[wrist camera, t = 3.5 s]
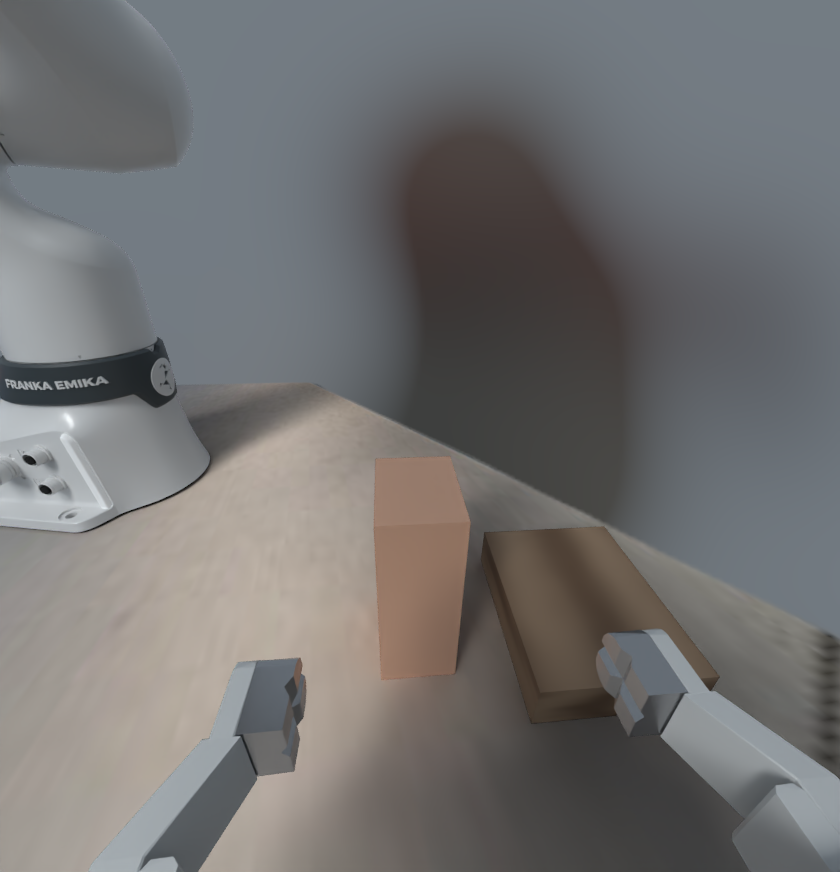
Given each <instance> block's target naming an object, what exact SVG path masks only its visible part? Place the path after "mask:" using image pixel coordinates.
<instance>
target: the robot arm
mask: <svg viewBox="0 0 840 872" xmlns="http://www.w3.org/2000/svg"><path fill="white" fill-rule="evenodd" d="M192 133H193V110H192V104H191V99H190V95H189V91H188V87H187V85H186V82H185V79H184V76H183V74H182V72H181V70H180V67H179V66H178V63H177V61H176V60H175V58H174V56H173V54H172V52H171V51H170V49H169V48H168V46H167V45H166V43H165V42H164V40H163V39H162V38H161V36H160V35H159V34H158V32H157V31H156V30H155V29H154V27H153V26H152V25H151V24H150V23H149V22H148V21H147V19H146V18H145V17H144V16H142V15H141V14H140V13H139V12H138V11H136V10H135V9H134V8H133V7H132V6H131V5H130V4H129V3H128V2H126V1H125V0H0V350H1V352H2V354H3V355H2V357H1V358H0V398H1V400H0V526H9V527H20V528H30V529H41V530H52V531H62V532H82V531H86V530H89V529H91V528H94V527H96V526H98V525H100V524H102V523H104V522H106V521H108V520H110V519H112V518H114V517H116V516H118V515H119V514H122V513H124V512H127V511H130V510H133V509H136V508H139V507H142V506H145V505H148V504H150V503H153V502H156V501H158V500H161V499H163V498H165V497H168V496H170V495H172V494H174V493H176V492H178V491H179V490H181V489H183V488H184V487H186V486H188V485H189V484H191V483H192V482H193V481H195V480H196V479H197V478H198V477H199V476H200V475H201V474H202V473H203V472H204V471H205V470H206V468H207V467H208V465H209V462H210V455H209V453H208V451H207V450H206V449H205V447H204V446H203V445H202V443H201V442H200V440H199V439H198V437H197V435H196V434H195V432H194V430H193V428H192V427H191V425H190V423H189V421H188V419H187V417H186V415H185V412H184V410H183V408H182V406H181V404H180V401H179V399H178V396H177V394H176V393H177V388H176V383H175V379H174V374H173V371H172V368H171V364H170V361H169V358H168V355H167V352H166V349H165V346H164V343H163V341H162V340H161V339H160V338H158V337H157V336H156V333H155V330H154V326H153V323H152V320H151V316H150V313H149V310H148V307H147V304H146V300H145V297H144V293H143V290H142V287H141V284H140V280H139V277H138V274H137V270H136V267H135V265H134V264H133V262H132V260H131V259H130V258H129V256H128V255H127V254H126V253H125V251H124V250H123V249H122V248H120V247H119V246H118V245H117V244H115V243H114V242H113V241H112V240H110V239H108V238H107V237H105V236H103V235H101V234H99V233H97V232H95V231H93V230H91V229H89V228H87V227H84V226H82V225H80V224H78V223H75V222H73V221H70V220H68V219H65V218H63V217H60V216H58V215H55V214H52V213H50V212H47V211H45V210H43V209H40V208H38V207H36V206H35V205H33V204H31V203H30V202H28V201H27V200H26V199H24V197H23V196H22V195H21V194H20V193H19V192H18V190H17V189H16V188H15V186H14V185H13V183H12V181H11V179H10V177H9V175H8V173H7V168H8V167H10V166H18V165H24V166H36V167H48V168H60V169H73V170H84V171H96V172H108V173H130V172H140V171H150V170H157V169H164V168H171V167H176V166H177V165H178V164H179V163H180V162H181V161H182V159H183V157H184V156H185V155H186V153H187V150H188V148H189V146H190V142H191V138H192ZM602 643H603V645H604V647H603V648H602V649H601V650H599V651H598V653H597V657H596V667H597V672H598V676H599V679H600V681H601V683H602V685H603V687H604V689H605V690H606V691H607V692H608V693H609V694H610V695H612V696H613V697H614V698H615V702H614V709H615V711H616V713H617V715H618V717H619V719H620V721H621V723H622V725H623V727H624V729H625V731H626V733H627V735H628V737H635V736H649V735H661V738H662V739H663V740H664V741H665V742H666V743H667V744H668V745H669V746H670V747H671V748H672V749H673V750H675V751H676V752H677V753H678V754H679V755H680V756H681V757H682V758H683V759H684V760H685V761H686V762H687V763H688V764H689V765H690V766H691V767H692V768H693V769H694V770H695V771H696V772H697V773H698V774H699V775H700V776H701V777H702V778H703V779H704V780H705V781H706V782H707V783H708V784H709V785H710V786H711V787H712V788H713V789H714V790H715V791H716V792H717V793H718V794H720V795H721V796H722V797H723V798H724V799H725V800H726V801H727V802H728V803H729V804H730V805H731V806H732V807H733V808H734V809H735V810H736V811H737V812H738V813H739V814H740V815H741V816H742V817H743V818H744V820H743V821H742V822H741V824H740V825H739V826H738V827H737V828H736V829H735V830H734V831H733V834H732V841H733V843H734V845H735V846H736V848H737V850H738V851H739V853H740V855H741V857H742V858H743V860H744V862H745V864H746V865H747V867H748V869H749V871H750V872H840V780H839V779H838V777H837V776H835V775H834V774H833V773H831V772H830V771H828V770H827V769H825V768H824V767H823V766H821V765H820V764H818V763H817V762H815V761H814V760H813V759H811V758H810V757H808V756H807V755H806V754H804V753H803V752H801V751H800V750H798V749H797V748H796V747H794V746H793V745H791V744H790V743H788V742H787V741H786V740H784V739H783V738H781V737H780V736H778V735H777V734H776V733H774V732H773V731H771V730H770V729H769V728H767V727H766V726H764V725H763V724H761V723H760V722H759V721H757V720H756V719H754V718H753V717H751V716H750V715H749V714H747V713H746V712H744V711H743V710H742V709H740V708H739V707H737V706H736V705H734V704H733V703H732V702H730V701H729V700H727V699H726V698H724V697H723V696H722V695H720V694H719V693H717V692H716V691H709V690H708V688H707V687H706V686H705V684H704V683H703V682H702V680H701V679H700V678H699V676H698V675H697V673H696V672H695V671H694V669H693V668H692V667H691V665H690V664H689V663H688V661H687V660H686V659H685V657H684V656H683V655H682V653H681V652H680V651H679V649H678V648H677V646H676V645H675V644H674V642H673V641H672V640H671V638H670V637H669V636H668V634H667V633H666V632H664V631H663V630H662V629H647V630H632V631H622V632H612V633H607V634H605V635H604V636H603V639H602ZM301 671H302V662H301V658H288V659H275V660H262V661H261V660H257V661H246V662H238V663H237V665H236V666H235V668H234V670H233V672H232V675H231V678H230V680H229V683H228V686H227V689H226V692H225V694H224V697H223V700H222V703H221V706H220V709H219V711H218V714H217V717H216V720H215V723H214V726H213V728H212V731H211V734H210V737H209V739H202V740H201V741H200V743H199V744H198V745H197V746H196V747H195V748H194V749H193V750H192V752H191V753H190V754H189V755H188V756H187V757H186V758H185V759H184V761H183V762H182V763H181V764H180V765H179V766H178V767H177V768H176V770H175V771H174V772H173V773H172V774H171V775H170V776H169V777H168V779H167V780H166V781H165V782H164V783H163V784H162V785H161V786H160V788H159V789H158V790H157V791H156V792H155V793H154V794H153V795H152V796H151V798H150V799H149V800H148V801H147V802H146V803H145V804H144V805H143V807H142V808H141V809H140V810H139V811H138V812H137V813H136V814H135V816H134V817H133V818H132V819H131V820H130V821H129V822H128V823H127V825H126V826H125V827H124V828H123V829H122V830H121V831H120V832H119V834H118V835H117V836H116V837H115V838H114V839H113V840H112V841H111V843H110V844H109V845H108V846H107V847H106V848H105V849H104V850H103V852H102V853H101V854H100V855H99V856H98V857H97V858H96V859H95V860H94V862H93V863H92V864H91V867H90V869H89V871H88V872H198V871H199V869H200V868H201V866H202V865H203V863H204V862H205V860H206V858H207V857H208V855H209V854H210V852H211V851H212V849H213V848H214V846H215V844H216V843H217V841H218V840H219V838H220V837H221V835H222V834H223V832H224V830H225V829H226V827H227V826H228V824H229V823H230V821H231V819H232V818H233V816H234V815H235V813H236V812H237V810H238V809H239V807H240V805H241V804H242V802H243V801H244V799H245V798H246V796H247V795H248V793H249V791H250V790H251V788H252V787H253V785H254V784H255V782H256V781H257V776H264V775H272V774H279V773H287V772H294V770H295V764H296V758H297V753H298V747H299V741H300V736H299V732H298V728H297V725H298V724H299V723H300V721H301V720H302V719H303V717H304V711H305V704H306V680H305V676H304V675H302V674H301Z"/></svg>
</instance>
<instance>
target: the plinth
mask: <svg viewBox="0 0 840 872" xmlns="http://www.w3.org/2000/svg"><path fill="white" fill-rule="evenodd" d="M481 562H482V565H483V568H484V571H485V575H486V578H487V581H488V584H489V588H490V591H491V594H492V597H493V601H494V604H495V607H496V611H497V614H498V617H499V620H500V624H501V627H502V630H503V633H504V637H505V640H506V643H507V646H508V650H509V653H510V656H511V659H512V663H513V666H514V669H515V672H516V676H517V679H518V682H519V685H520V689H521V692H522V695H523V698H524V702H525V705H526V708H527V711H528V715H529V718H530V721H531V724H532V723H543V722H553V721H564V720H574V719H585V718H595V717H606V716H616V715H617V713H616V711H615V709H614V702H615V698H614V697H613V696H612V695H610V694H609V693H608V692H607V691H606V690H605V689H604V687H603V685H602V683H601V681H600V679H599V676H598V672H597V667H596V657H597V653H598V651H599V650H601V649H602V648H603V647H604V645H603V643H602V639H603V636H604V635H605V634H607V633H612V632H622V631H632V630H647V629H662V630H663V631H664V632H666V633H667V634H668V636H669V637H670V638H671V640H672V641H673V642H674V644H675V645H676V646H677V648H678V649H679V651H680V652H681V653H682V655H683V656H684V657H685V659H686V660H687V661H688V663H689V664H690V665H691V667H692V668H693V669H694V671H695V672H696V673H697V675H698V676H699V678H700V679H701V680H702V682H703V683H704V684H705V686H706V687H707V688H708V690H709V691H711V690H712V688H713V686H714V685H715V683H716V682H717V680H718V679H719V675H718V674H717V673H716V671H715V670H714V669H713V667H712V666H711V665H710V664H709V662H708V661H707V660H706V658H705V657H704V656H703V654H702V653H701V652H700V651H699V649H698V648H697V647H696V645H695V644H694V643H693V641H692V640H691V639H690V638H689V636H688V635H687V634H686V632H685V631H684V630H683V628H682V627H681V626H680V625H679V623H678V622H677V621H676V619H675V618H674V617H673V615H672V614H671V613H670V612H669V610H668V609H667V608H666V606H665V605H664V604H663V602H662V601H661V600H660V599H659V597H658V596H657V595H656V593H655V592H654V591H653V589H652V588H651V587H650V586H649V584H648V583H647V582H646V580H645V579H644V578H643V576H642V575H641V574H640V573H639V571H638V570H637V569H636V567H635V566H634V565H633V563H632V562H631V561H630V560H629V558H628V557H627V556H626V554H625V553H624V552H623V550H622V549H621V548H620V547H619V545H618V544H617V543H616V541H615V540H614V539H613V537H612V536H611V535H610V534H609V532H608V531H607V530H606V528H605V527H585V528H564V529H544V530H523V531H503V532H484V540H483V548H482V556H481Z"/></svg>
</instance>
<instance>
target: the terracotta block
mask: <svg viewBox="0 0 840 872" xmlns="http://www.w3.org/2000/svg"><path fill="white" fill-rule="evenodd" d="M470 524H471V521H470V518H469V515H468V512H467V509H466V505H465V502H464V499H463V496H462V493H461V489H460V486H459V483H458V480H457V477H456V473H455V470H454V467H453V464H452V461H451V457H450V456H444V457H411V458H378V459H376V464H375V499H374V542H375V562H376V582H377V602H378V621H379V641H380V661H381V680H389V679H401V678H413V677H425V676H438V675H450V674H455V669H456V659H457V650H458V640H459V630H460V621H461V611H462V601H463V592H464V582H465V572H466V563H467V553H468V543H469V534H470Z"/></svg>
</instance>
